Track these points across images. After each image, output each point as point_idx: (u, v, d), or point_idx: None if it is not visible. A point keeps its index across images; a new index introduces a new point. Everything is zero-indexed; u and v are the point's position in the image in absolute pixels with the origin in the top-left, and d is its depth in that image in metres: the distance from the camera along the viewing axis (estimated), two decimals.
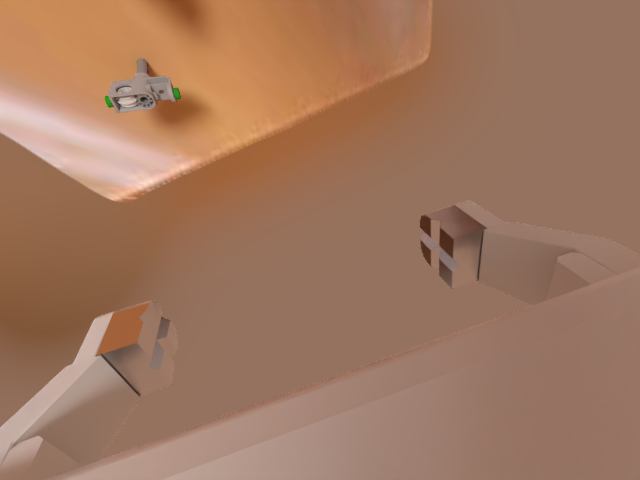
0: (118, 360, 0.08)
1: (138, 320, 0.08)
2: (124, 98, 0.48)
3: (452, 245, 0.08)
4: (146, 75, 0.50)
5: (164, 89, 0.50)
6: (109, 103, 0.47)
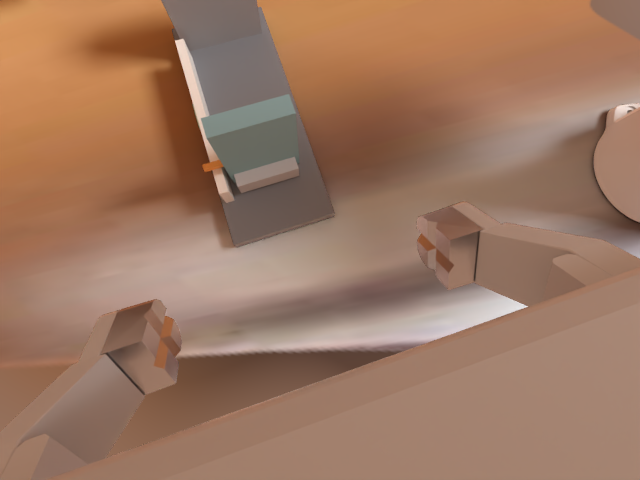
0: (123, 358, 0.08)
1: (142, 319, 0.08)
2: None
3: (448, 246, 0.08)
4: None
5: None
6: None
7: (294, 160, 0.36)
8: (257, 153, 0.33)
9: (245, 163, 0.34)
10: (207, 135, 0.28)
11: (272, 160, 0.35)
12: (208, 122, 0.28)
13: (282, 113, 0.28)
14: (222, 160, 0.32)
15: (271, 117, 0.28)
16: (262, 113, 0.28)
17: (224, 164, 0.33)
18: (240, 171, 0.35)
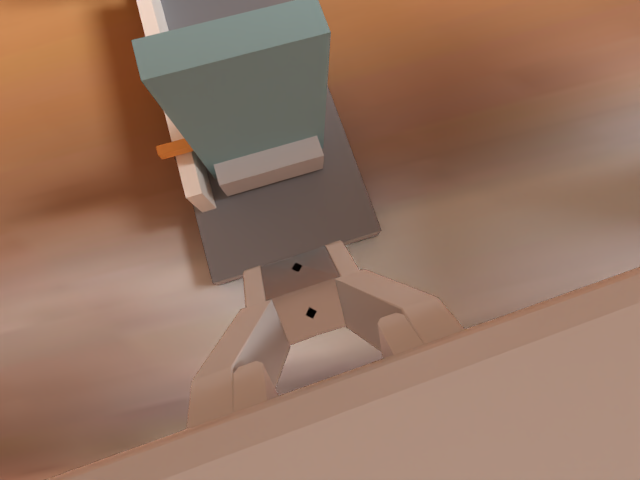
0: (283, 306, 0.08)
1: (292, 271, 0.08)
2: None
3: (305, 294, 0.08)
4: None
5: None
6: None
7: (316, 141, 0.21)
8: (253, 124, 0.18)
9: (232, 145, 0.19)
10: (143, 74, 0.13)
11: (279, 140, 0.21)
12: (148, 49, 0.13)
13: (302, 33, 0.14)
14: (187, 136, 0.17)
15: (280, 40, 0.13)
16: (261, 32, 0.13)
17: (193, 144, 0.18)
18: (224, 159, 0.21)
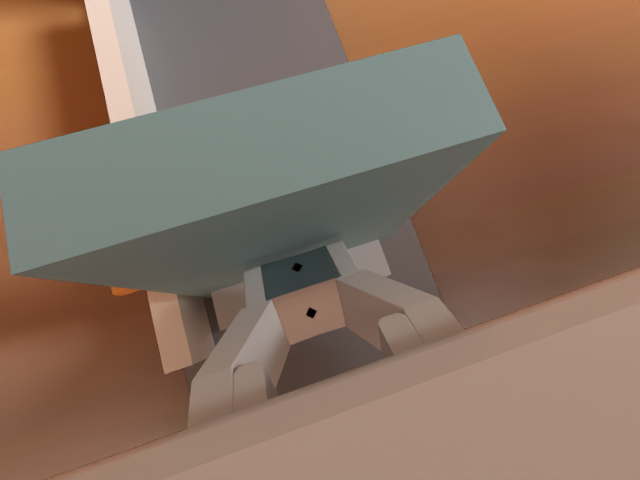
0: (283, 306, 0.08)
1: (292, 271, 0.08)
2: None
3: (305, 293, 0.08)
4: None
5: None
6: None
7: (378, 250, 0.13)
8: (284, 254, 0.10)
9: None
10: (19, 256, 0.05)
11: None
12: (38, 178, 0.05)
13: (438, 133, 0.05)
14: (161, 289, 0.09)
15: (383, 151, 0.05)
16: (334, 129, 0.05)
17: (173, 291, 0.10)
18: (229, 285, 0.12)
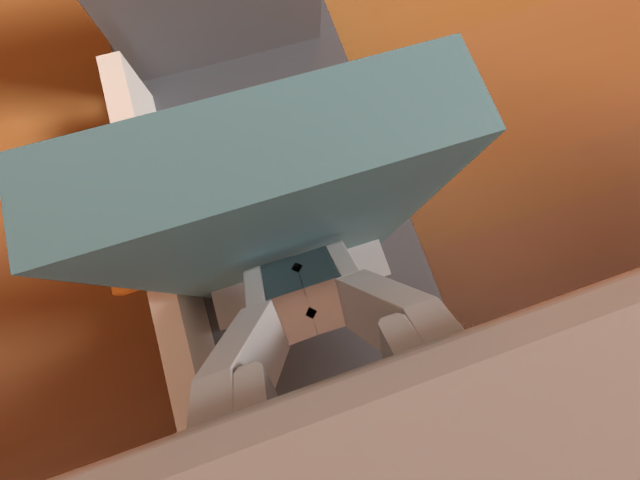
0: (282, 306, 0.08)
1: (292, 271, 0.08)
2: None
3: (305, 293, 0.08)
4: None
5: None
6: None
7: (378, 250, 0.13)
8: (283, 254, 0.10)
9: None
10: (19, 256, 0.05)
11: None
12: (38, 179, 0.05)
13: (437, 133, 0.05)
14: (161, 289, 0.09)
15: (383, 151, 0.05)
16: (333, 129, 0.05)
17: (173, 291, 0.10)
18: (229, 285, 0.12)
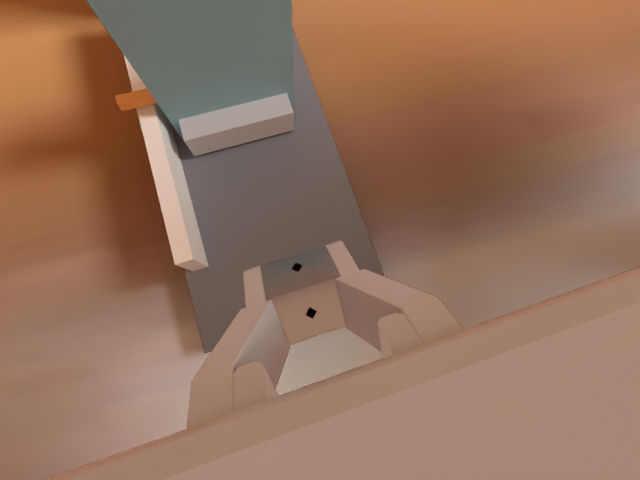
0: (283, 306, 0.08)
1: (292, 271, 0.08)
2: None
3: (305, 294, 0.08)
4: None
5: None
6: None
7: (286, 99, 0.21)
8: (216, 71, 0.17)
9: (197, 96, 0.19)
10: None
11: (247, 95, 0.20)
12: None
13: None
14: (145, 79, 0.16)
15: None
16: None
17: (153, 91, 0.17)
18: (189, 114, 0.20)
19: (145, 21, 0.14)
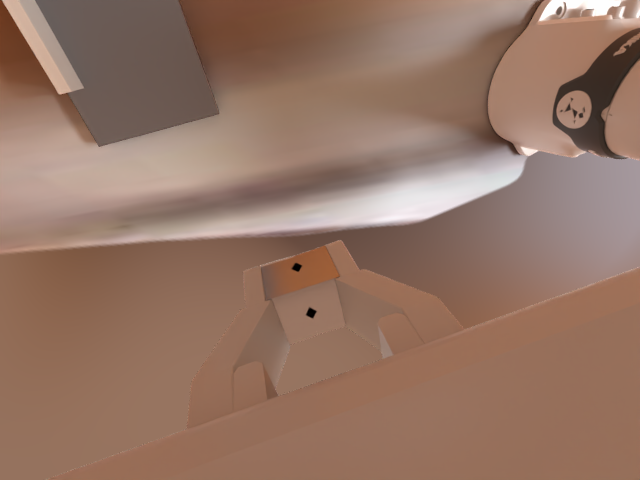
0: (282, 306, 0.08)
1: (292, 271, 0.08)
2: None
3: (305, 293, 0.08)
4: None
5: None
6: None
7: None
8: None
9: None
10: None
11: None
12: None
13: None
14: None
15: None
16: None
17: None
18: None
19: None
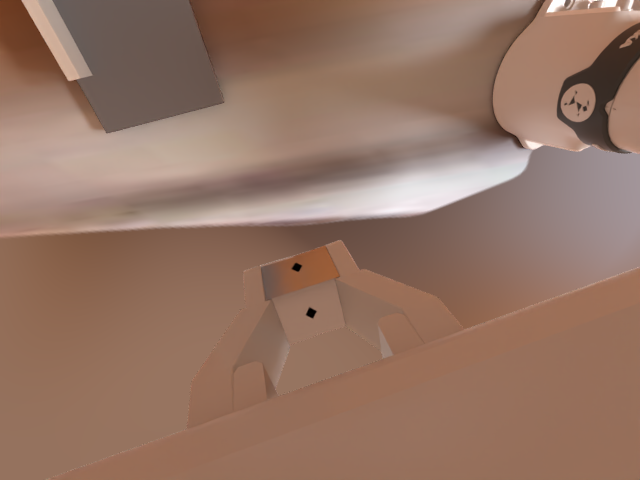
0: (282, 306, 0.08)
1: (292, 271, 0.08)
2: None
3: (305, 293, 0.08)
4: None
5: None
6: None
7: None
8: None
9: None
10: None
11: None
12: None
13: None
14: None
15: None
16: None
17: None
18: None
19: None
